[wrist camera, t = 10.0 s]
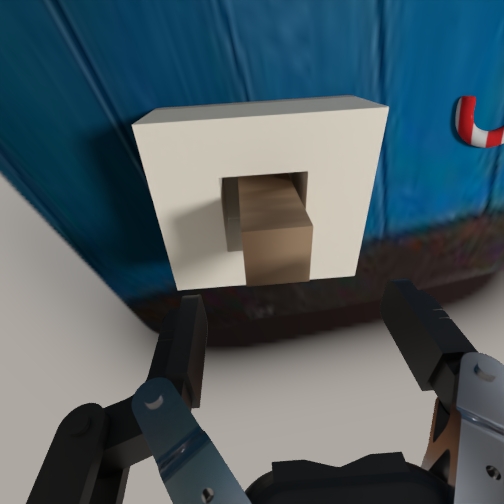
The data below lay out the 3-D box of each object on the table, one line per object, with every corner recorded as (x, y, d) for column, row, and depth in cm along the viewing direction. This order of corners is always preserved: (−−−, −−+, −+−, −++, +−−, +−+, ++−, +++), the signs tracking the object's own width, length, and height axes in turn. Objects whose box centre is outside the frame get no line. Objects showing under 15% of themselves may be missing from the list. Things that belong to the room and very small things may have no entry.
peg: (282, 162, 22) (313, 226, 13) (282, 203, 24) (309, 281, 15) (237, 166, 22) (241, 232, 13) (240, 207, 24) (246, 286, 15)
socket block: (350, 94, 20) (389, 107, 15) (332, 236, 27) (354, 275, 22) (156, 108, 20) (131, 124, 15) (187, 247, 27) (177, 290, 22)
